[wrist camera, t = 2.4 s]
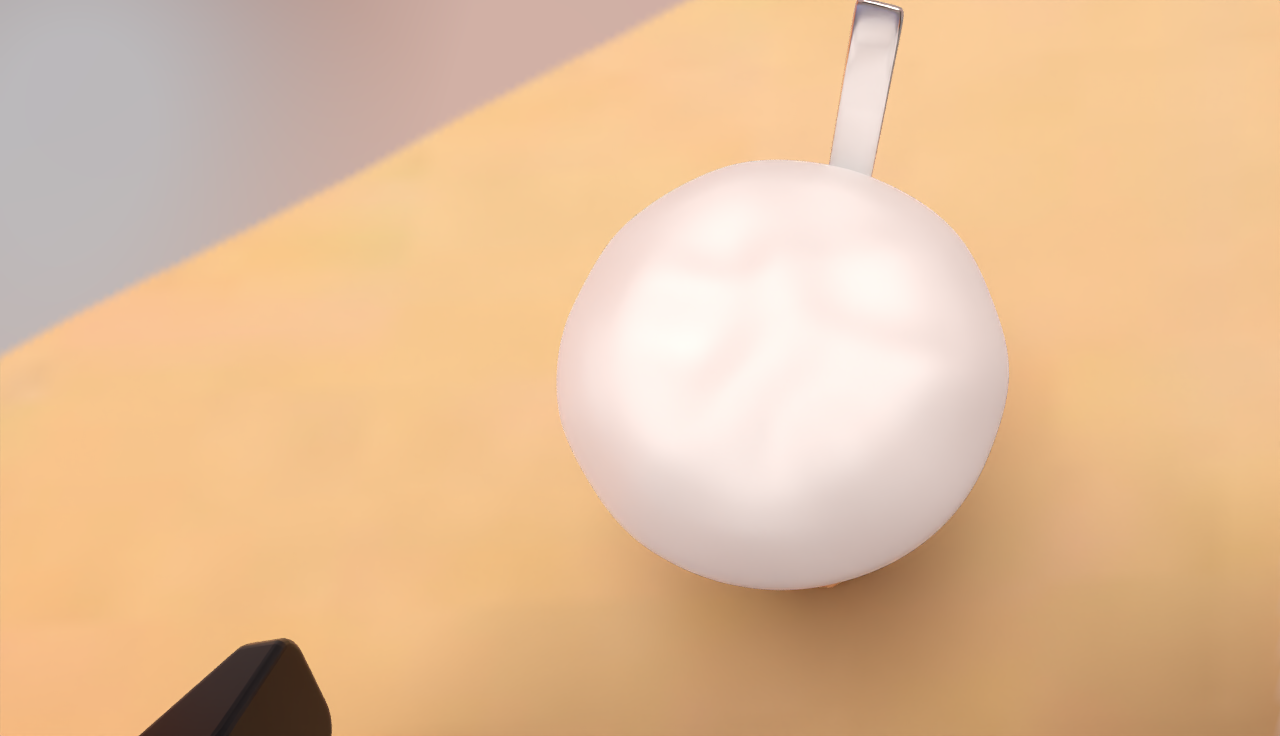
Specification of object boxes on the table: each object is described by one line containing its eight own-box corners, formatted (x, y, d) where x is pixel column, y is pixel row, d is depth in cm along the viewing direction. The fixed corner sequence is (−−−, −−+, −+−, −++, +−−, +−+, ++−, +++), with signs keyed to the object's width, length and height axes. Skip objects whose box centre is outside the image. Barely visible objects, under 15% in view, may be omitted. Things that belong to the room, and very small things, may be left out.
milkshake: (996, 373, 19) (1137, 65, 10) (888, 673, 18) (928, 658, 9) (748, 289, 20) (657, -58, 11) (633, 567, 19) (425, 453, 10)
